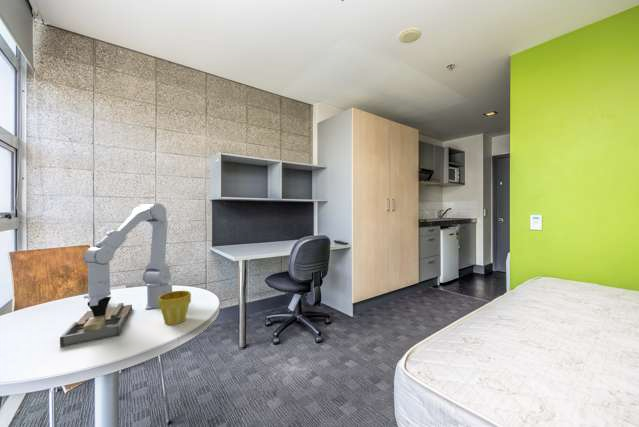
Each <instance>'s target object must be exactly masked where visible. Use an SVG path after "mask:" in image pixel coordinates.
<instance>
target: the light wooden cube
mask: <svg viewBox="0 0 639 427" xmlns="http://www.w3.org/2000/svg"><path fill="white" fill-rule="evenodd" d="M100 319H103V329H104V328H105V327H106V315H102V316H96V317H90V319H89V320H88V321H94V320H100ZM88 321H87V322H88Z"/></svg>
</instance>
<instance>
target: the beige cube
mask: <svg viewBox="0 0 639 427" xmlns="http://www.w3.org/2000/svg"><path fill="white" fill-rule="evenodd" d="M98 329H103V319H100V320H94V321H88V322H87V323H86V324H85V325H84V326H83V332H87V331H93V330H98Z"/></svg>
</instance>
